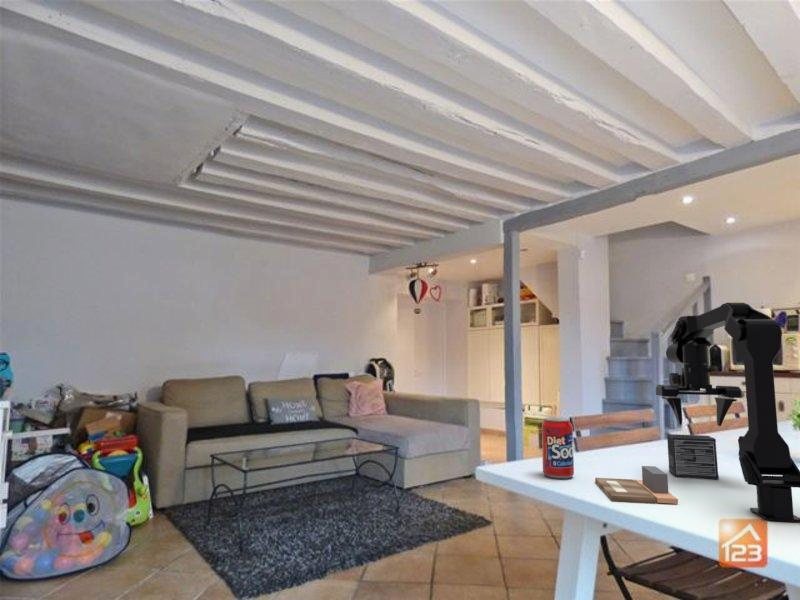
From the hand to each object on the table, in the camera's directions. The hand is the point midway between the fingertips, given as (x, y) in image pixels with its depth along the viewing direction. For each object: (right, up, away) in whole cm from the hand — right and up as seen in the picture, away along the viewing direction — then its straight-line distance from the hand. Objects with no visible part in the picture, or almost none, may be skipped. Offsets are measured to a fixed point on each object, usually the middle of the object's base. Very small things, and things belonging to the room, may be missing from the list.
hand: (699, 425), depth 127 cm
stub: (-18, -13, -13) cm, 25 cm away
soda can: (-35, -15, +3) cm, 38 cm away
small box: (+2, -15, +5) cm, 16 cm away
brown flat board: (-25, -13, -12) cm, 30 cm away
